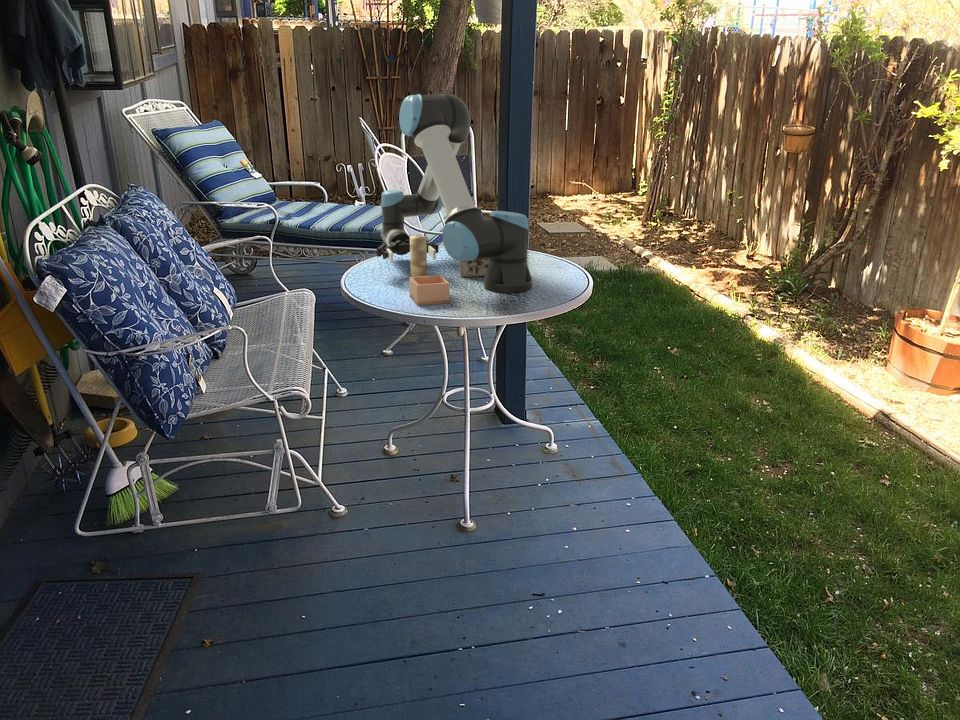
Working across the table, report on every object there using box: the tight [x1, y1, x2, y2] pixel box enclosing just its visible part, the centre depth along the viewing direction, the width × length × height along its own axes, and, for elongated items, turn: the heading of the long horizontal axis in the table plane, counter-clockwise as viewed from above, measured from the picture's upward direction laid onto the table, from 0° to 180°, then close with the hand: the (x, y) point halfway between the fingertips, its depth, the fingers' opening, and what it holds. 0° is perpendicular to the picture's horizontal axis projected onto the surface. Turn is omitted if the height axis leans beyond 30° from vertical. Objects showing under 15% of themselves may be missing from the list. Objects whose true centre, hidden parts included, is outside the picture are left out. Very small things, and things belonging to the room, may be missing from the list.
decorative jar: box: [459, 257, 490, 278], centre depth 246 cm, size 12×12×18 cm
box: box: [408, 274, 451, 307], centre depth 219 cm, size 10×10×6 cm
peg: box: [409, 234, 428, 277], centre depth 229 cm, size 5×5×16 cm
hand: (413, 256), depth 233 cm, fingers open, 13 cm apart
